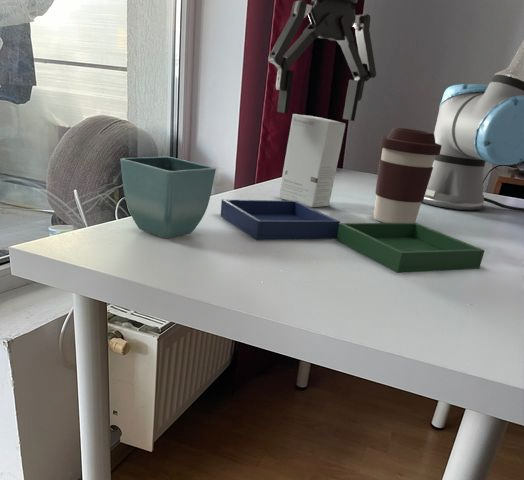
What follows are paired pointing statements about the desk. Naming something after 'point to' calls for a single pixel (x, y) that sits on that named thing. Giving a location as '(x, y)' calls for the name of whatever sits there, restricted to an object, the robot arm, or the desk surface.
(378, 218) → the coffee cup
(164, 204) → the flower pot
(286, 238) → the navy tray
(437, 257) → the green tray
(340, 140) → the cosmetic box
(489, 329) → the desk surface
